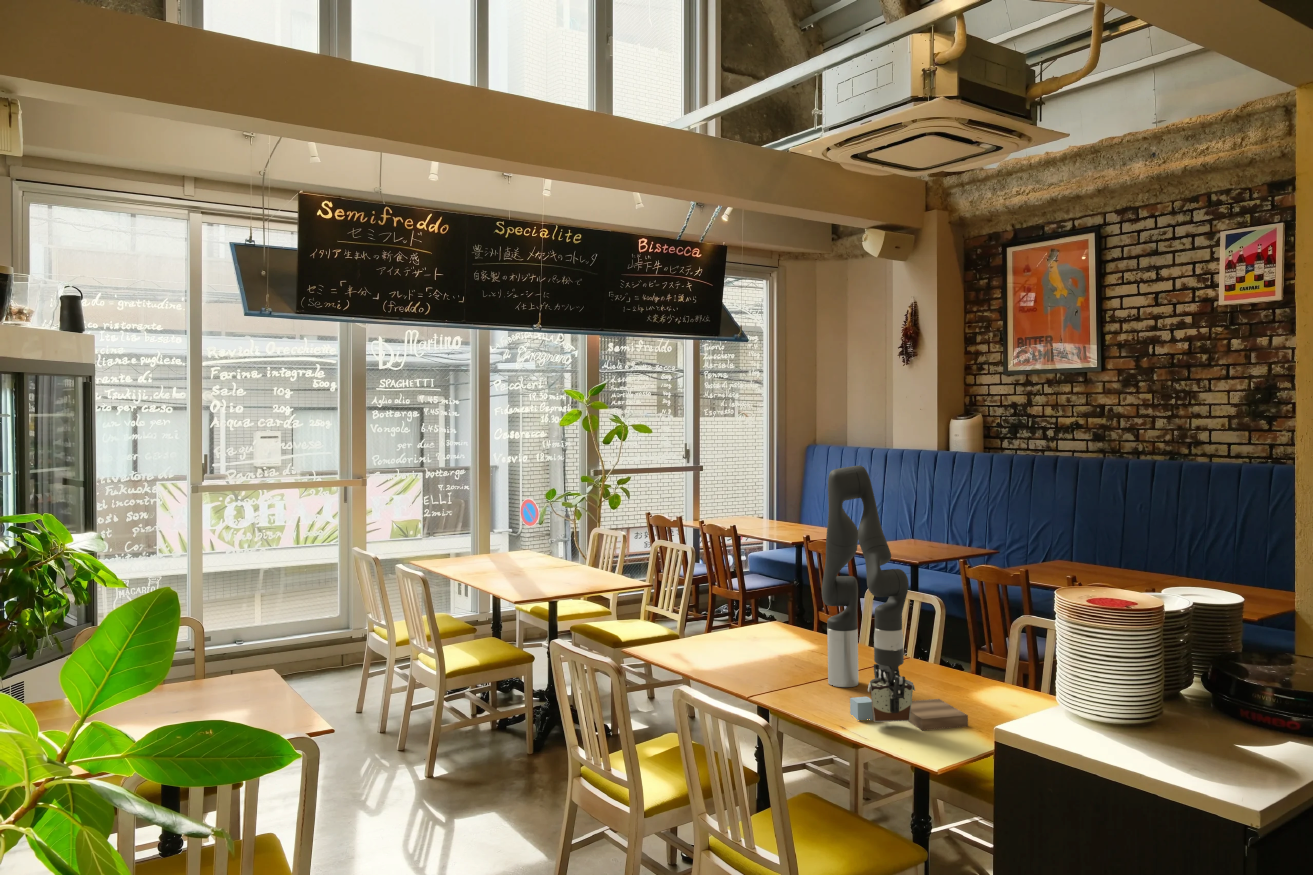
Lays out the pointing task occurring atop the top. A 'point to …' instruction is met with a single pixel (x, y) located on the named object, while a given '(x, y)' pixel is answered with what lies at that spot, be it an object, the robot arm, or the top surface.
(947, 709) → the walnut slab
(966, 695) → the top surface
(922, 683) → the top surface
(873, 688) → the food container
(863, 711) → the slate cube
